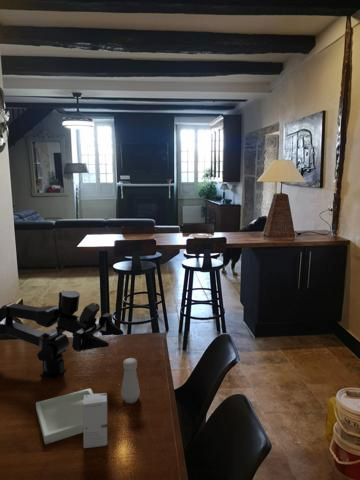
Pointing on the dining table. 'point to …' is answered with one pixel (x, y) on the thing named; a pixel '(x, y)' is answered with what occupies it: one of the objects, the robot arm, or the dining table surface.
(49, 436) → the tray
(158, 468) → the dining table surface
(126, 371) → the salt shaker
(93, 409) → the skincare box
